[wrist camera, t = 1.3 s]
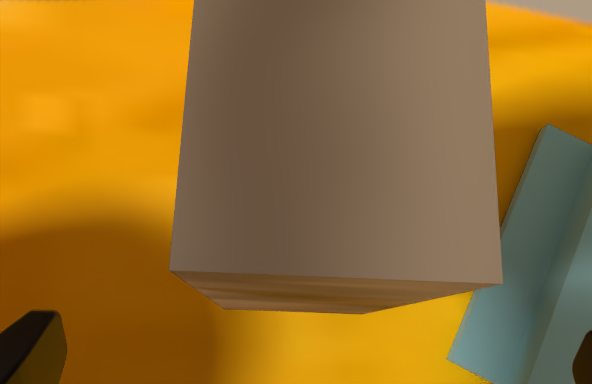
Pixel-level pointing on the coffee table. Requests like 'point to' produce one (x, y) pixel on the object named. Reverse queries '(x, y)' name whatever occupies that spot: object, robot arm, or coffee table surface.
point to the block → (337, 155)
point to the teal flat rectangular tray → (537, 273)
